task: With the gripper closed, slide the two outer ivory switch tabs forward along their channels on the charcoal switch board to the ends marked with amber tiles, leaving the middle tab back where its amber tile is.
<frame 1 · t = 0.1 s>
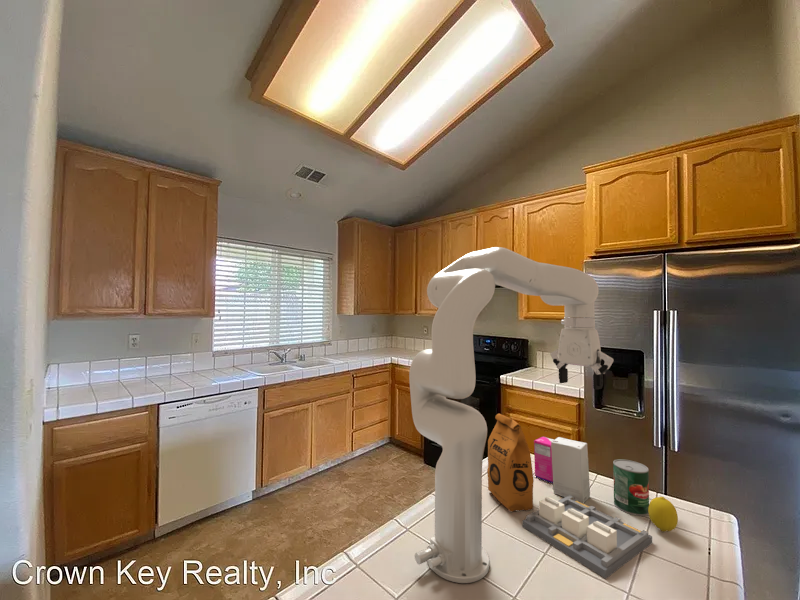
hand: (579, 385, 96), 31 cm above the counter, tool pointing down, fingers open, 9 cm apart
switch board: (585, 534, 79), on the counter
canned tomato: (631, 508, 91), on the counter
skincare box: (570, 496, 97), on the counter
tab near: (601, 536, 73), point 4 cm above the counter, slide at 0.0 cm
lemon: (663, 532, 81), on the counter
coffee package: (510, 501, 94), on the counter
tab middle: (575, 522, 77), point 4 cm above the counter, slide at 0.0 cm
supplement box: (547, 478, 108), on the counter
tab far: (551, 510, 82), point 4 cm above the counter, slide at 0.0 cm
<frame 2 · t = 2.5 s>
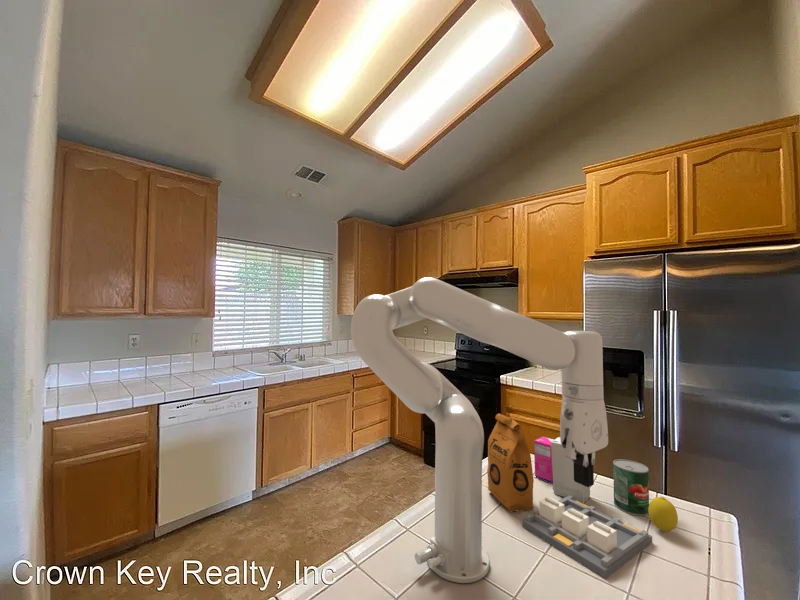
hand: (583, 483, 69), 17 cm above the counter, tool pointing down, fingers closed
nothing on the counter moved.
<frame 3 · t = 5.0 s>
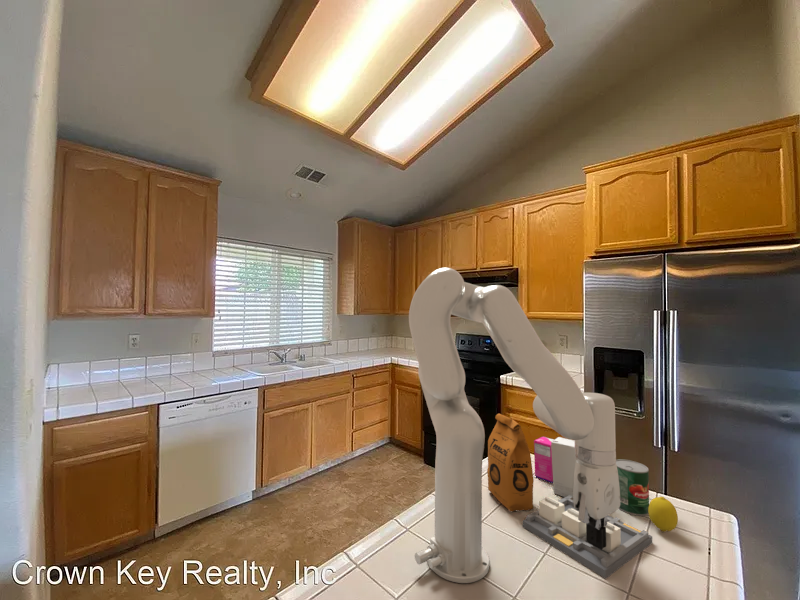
hand: (596, 544, 71), 3 cm above the counter, tool pointing down, fingers closed
tab near: (605, 534, 73), point 4 cm above the counter, slide at 1.6 cm, touching gripper
everything else where it was.
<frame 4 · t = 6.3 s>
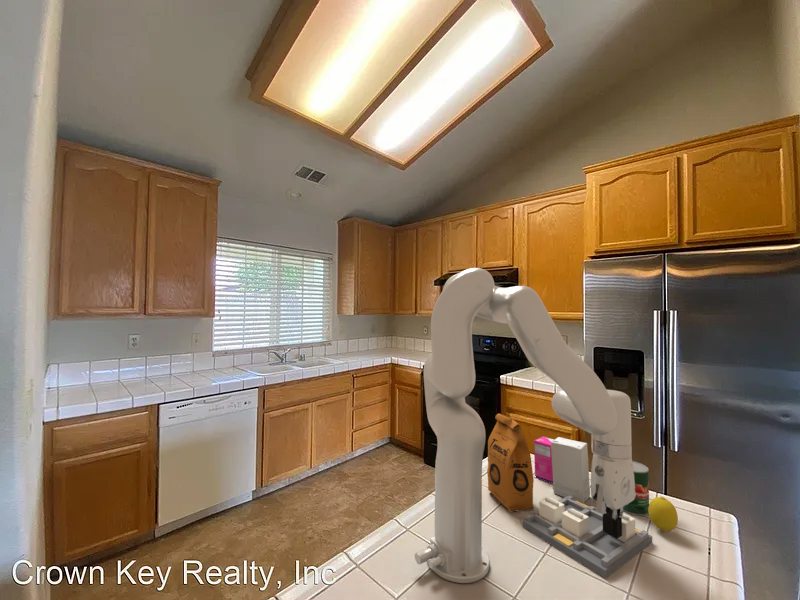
hand: (612, 533, 75), 3 cm above the counter, tool pointing down, fingers closed
tab near: (621, 524, 77), point 4 cm above the counter, slide at 8.1 cm, touching gripper
everything else where it was.
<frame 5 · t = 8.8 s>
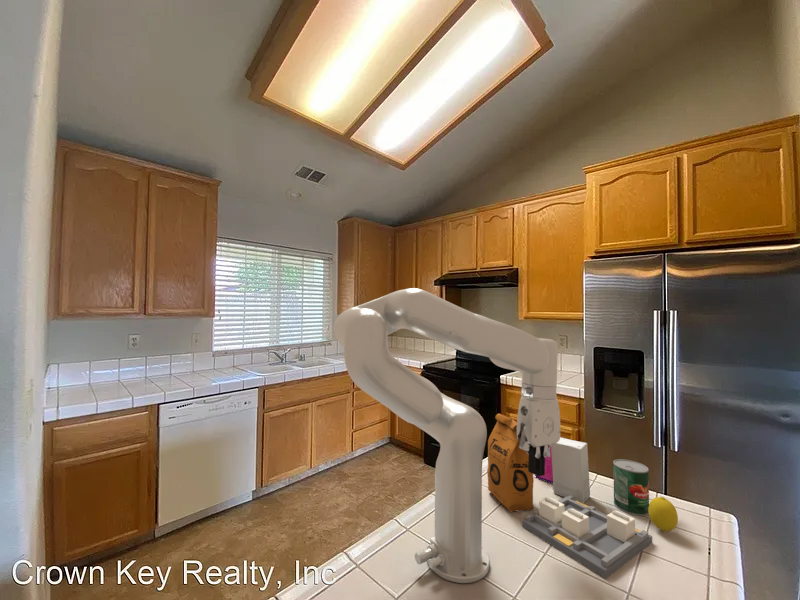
hand: (536, 473, 78), 14 cm above the counter, tool pointing down, fingers closed
tab near: (620, 524, 77), point 4 cm above the counter, slide at 8.0 cm
everything else where it was.
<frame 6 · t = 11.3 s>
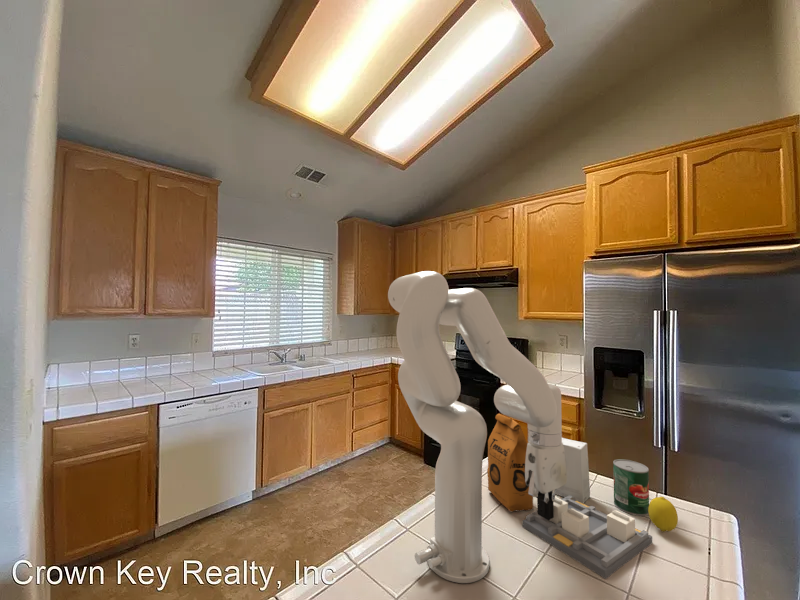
hand: (545, 516, 81), 3 cm above the counter, tool pointing down, fingers closed
tab far: (555, 508, 83), point 4 cm above the counter, slide at 1.4 cm, touching gripper
everything else where it was.
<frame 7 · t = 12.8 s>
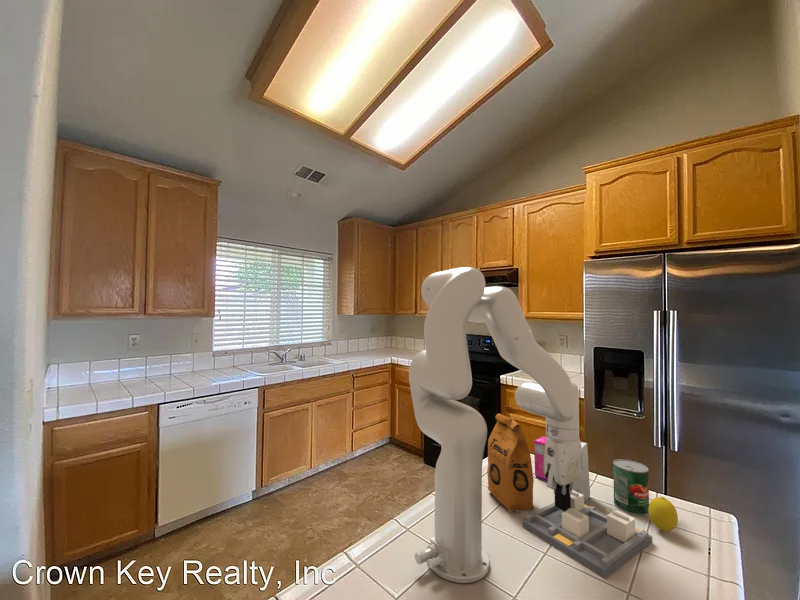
hand: (562, 507, 85), 3 cm above the counter, tool pointing down, fingers closed
tab far: (571, 500, 87), point 4 cm above the counter, slide at 8.3 cm, touching gripper
everything else where it was.
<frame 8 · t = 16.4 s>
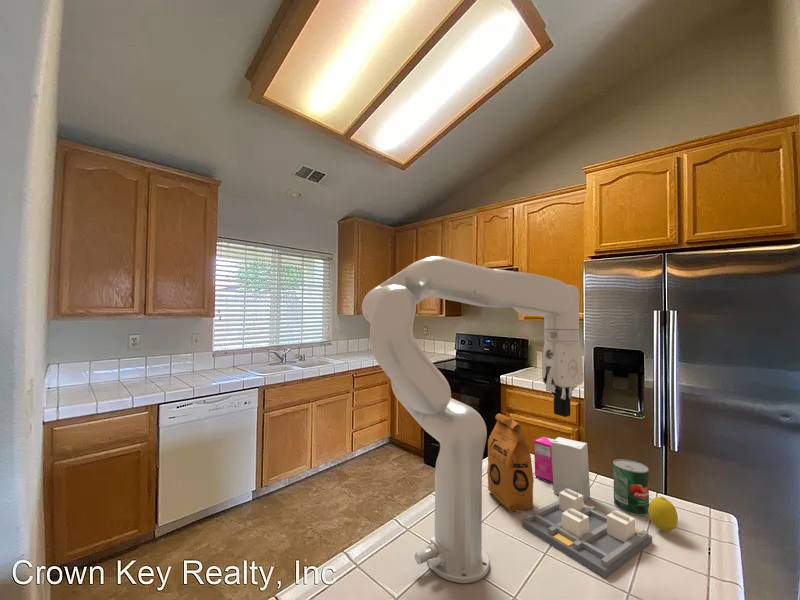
hand: (562, 414, 81), 27 cm above the counter, tool pointing down, fingers closed
tab far: (571, 500, 87), point 4 cm above the counter, slide at 8.0 cm
everything else where it was.
at the end: tab near slide at 8.0 cm; tab far slide at 8.0 cm; tab middle slide at 0.0 cm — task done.
